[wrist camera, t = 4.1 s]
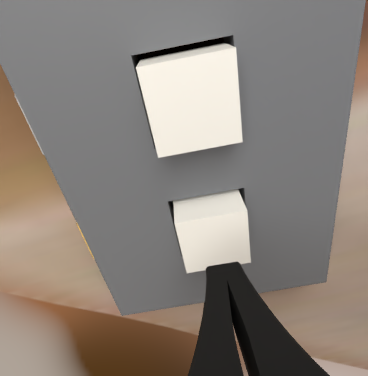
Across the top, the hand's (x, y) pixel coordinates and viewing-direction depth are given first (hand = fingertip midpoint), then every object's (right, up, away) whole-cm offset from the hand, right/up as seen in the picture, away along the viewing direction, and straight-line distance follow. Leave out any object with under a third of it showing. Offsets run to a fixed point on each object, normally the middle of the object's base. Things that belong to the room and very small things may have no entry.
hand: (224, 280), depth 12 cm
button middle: (-1, +9, +2) cm, 9 cm away
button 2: (0, +2, +7) cm, 7 cm away
